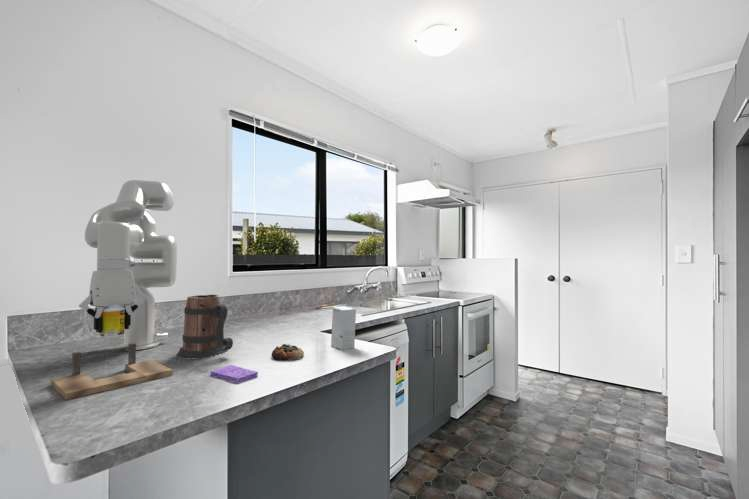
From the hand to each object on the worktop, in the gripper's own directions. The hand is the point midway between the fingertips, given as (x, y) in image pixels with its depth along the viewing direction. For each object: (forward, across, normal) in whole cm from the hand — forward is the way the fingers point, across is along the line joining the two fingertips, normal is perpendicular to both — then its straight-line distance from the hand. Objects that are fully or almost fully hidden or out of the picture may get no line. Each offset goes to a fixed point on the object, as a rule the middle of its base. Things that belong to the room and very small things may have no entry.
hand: (112, 329), depth 103 cm
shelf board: (+14, 0, +2) cm, 14 cm away
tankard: (+14, -30, -5) cm, 33 cm away
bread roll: (+14, -46, +20) cm, 52 cm away
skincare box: (+14, -67, +25) cm, 73 cm away
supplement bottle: (+2, 0, 0) cm, 2 cm away
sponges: (+14, -23, +24) cm, 36 cm away
